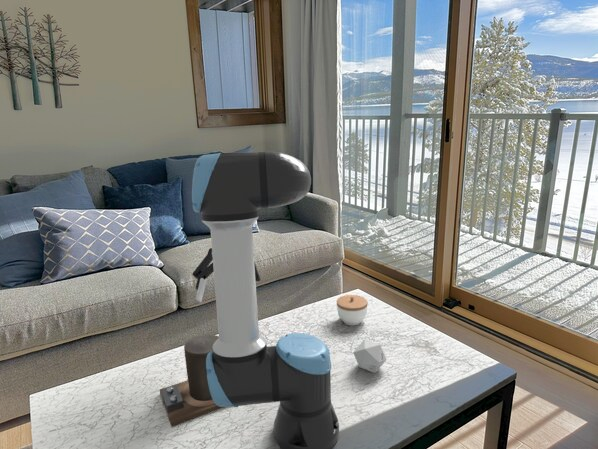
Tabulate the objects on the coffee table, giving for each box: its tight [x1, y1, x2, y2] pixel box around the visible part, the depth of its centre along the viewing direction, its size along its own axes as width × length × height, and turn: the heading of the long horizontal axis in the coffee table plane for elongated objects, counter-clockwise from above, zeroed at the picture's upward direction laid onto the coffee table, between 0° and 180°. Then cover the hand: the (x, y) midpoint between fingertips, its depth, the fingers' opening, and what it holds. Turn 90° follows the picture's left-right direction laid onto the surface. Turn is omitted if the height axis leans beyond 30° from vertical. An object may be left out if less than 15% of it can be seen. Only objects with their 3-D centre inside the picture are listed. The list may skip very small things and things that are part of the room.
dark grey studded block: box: [161, 385, 184, 413], centre depth 109 cm, size 7×22×3 cm, turn 119°
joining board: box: [159, 379, 225, 428], centre depth 109 cm, size 14×22×2 cm, turn 119°
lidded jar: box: [336, 294, 369, 326], centre depth 144 cm, size 11×11×9 cm
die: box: [353, 338, 387, 374], centre depth 118 cm, size 8×9×10 cm
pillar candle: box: [183, 333, 219, 401], centre depth 107 cm, size 10×10×15 cm
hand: (220, 302), depth 116 cm, fingers open, 13 cm apart
